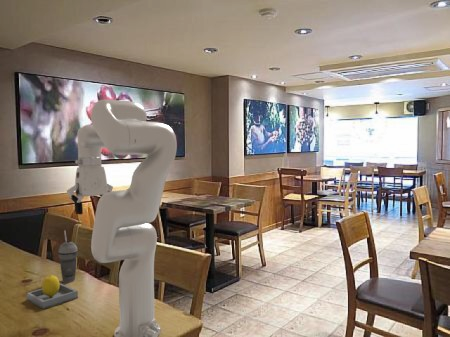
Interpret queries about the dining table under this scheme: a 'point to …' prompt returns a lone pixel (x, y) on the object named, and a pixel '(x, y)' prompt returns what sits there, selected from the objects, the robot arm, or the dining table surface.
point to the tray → (46, 302)
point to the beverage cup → (68, 260)
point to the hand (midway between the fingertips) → (91, 212)
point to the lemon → (50, 286)
